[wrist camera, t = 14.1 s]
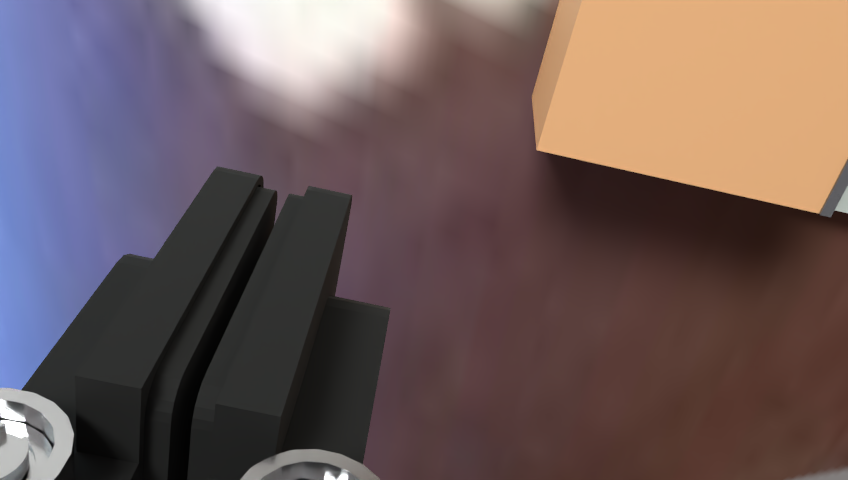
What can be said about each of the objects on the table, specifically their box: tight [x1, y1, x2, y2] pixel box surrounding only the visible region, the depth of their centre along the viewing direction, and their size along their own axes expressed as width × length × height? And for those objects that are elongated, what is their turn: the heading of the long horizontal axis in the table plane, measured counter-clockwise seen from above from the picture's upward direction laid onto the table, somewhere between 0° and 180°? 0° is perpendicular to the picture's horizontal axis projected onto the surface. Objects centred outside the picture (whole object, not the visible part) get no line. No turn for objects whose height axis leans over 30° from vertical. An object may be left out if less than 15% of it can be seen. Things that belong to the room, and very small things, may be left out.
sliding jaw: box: [532, 0, 848, 217], centre depth 28 cm, size 11×10×5 cm
